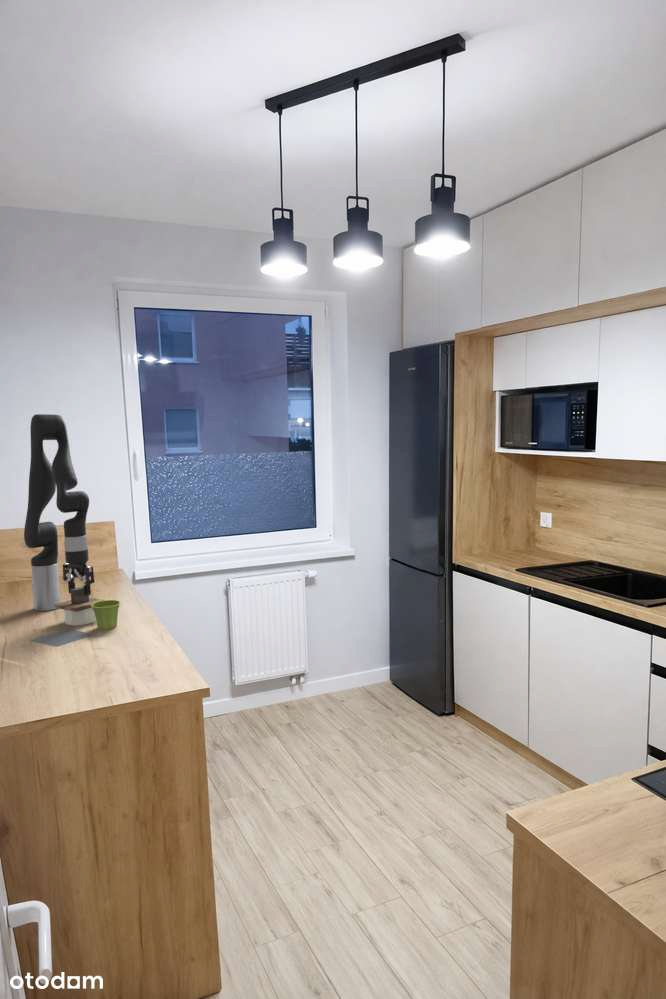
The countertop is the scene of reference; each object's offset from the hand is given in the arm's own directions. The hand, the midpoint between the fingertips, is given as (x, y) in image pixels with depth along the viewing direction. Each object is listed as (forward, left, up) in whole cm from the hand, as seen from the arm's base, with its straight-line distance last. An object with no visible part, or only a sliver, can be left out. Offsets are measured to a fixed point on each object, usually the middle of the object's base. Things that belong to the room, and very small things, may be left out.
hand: (79, 594), depth 229 cm
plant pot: (+15, -1, -10) cm, 18 cm away
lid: (0, 0, -4) cm, 4 cm away
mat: (+11, -15, -10) cm, 21 cm away
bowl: (0, 0, -10) cm, 10 cm away
